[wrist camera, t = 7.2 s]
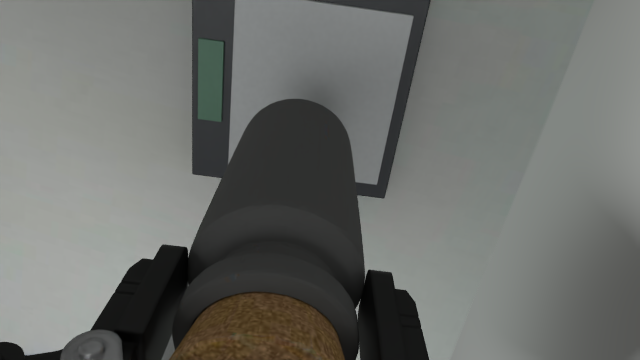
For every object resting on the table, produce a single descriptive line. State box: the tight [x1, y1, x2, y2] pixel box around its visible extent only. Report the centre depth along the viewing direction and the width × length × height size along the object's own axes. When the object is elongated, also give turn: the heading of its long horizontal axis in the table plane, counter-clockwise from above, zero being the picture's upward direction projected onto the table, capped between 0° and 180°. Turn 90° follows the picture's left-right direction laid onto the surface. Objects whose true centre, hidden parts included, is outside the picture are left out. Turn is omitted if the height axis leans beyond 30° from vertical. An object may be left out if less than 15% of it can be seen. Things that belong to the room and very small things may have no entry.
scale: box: [192, 0, 430, 198], centre depth 34 cm, size 16×16×3 cm
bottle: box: [169, 99, 365, 360], centre depth 17 cm, size 6×6×15 cm
